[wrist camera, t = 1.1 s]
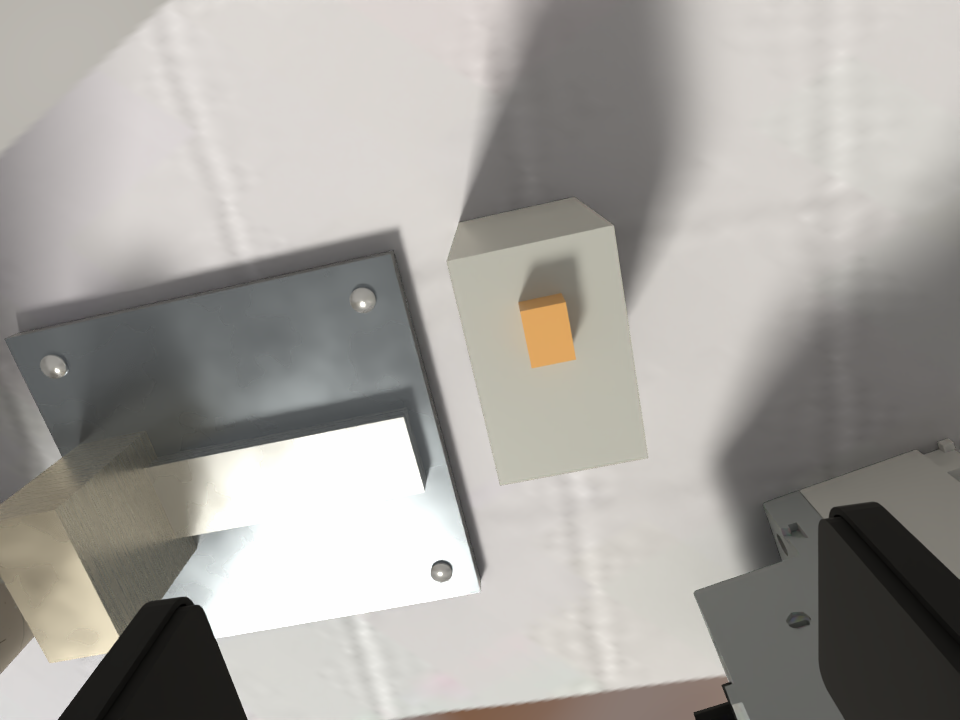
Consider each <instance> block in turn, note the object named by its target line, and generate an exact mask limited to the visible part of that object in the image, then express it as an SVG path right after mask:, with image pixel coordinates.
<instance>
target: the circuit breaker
mask: <svg viewBox="0 0 960 720" xmlns="http://www.w3.org/2000/svg"><path fill="white" fill-rule="evenodd" d="M938 447H939V449H938V450H936V451H933V452H930V453H927V454H924V455H923V454H922V453H921V452H919V451H918V450H913V451H910V452H907V453H904V454H902V455H899V456H896V457H893V458H890V459H887V460H884V461H882V462H879V463H876V464H873V465H870V466H867V467H864V468H862V469H859V470H856V471H853V472H850V473H847V474H844V475H842V476H839V477H836V478H833V479H830V480H827V481H824V482H821V483H819V484H816V485H813V486H810V487H807V488H804V489H801V490H799V491H796V492H793V493H790V494H787V495H784V496H782V497H779V498H776V499H773V500H770V501H767V502H765V503H764V504H763V506H764V509H765V512H766V515H767V518H768V521H769V524H770V527H771V530H772V533H773V536H774V539H775V542H776V545H777V548H778V551H779V554H780V557H781V560H782V561H781V562H778V563H776V564H773V565H770V566H767V567H764V568H761V569H758V570H755V571H752V572H749V573H746V574H743V575H740V576H737V577H734V578H731V579H728V580H725V581H722V582H720V583H717V584H714V585H711V586H708V587H705V588H702V589H699V590H696V591H695V592H694V596H695V598H696V601H697V603H698V606H699V608H700V611H701V613H702V616H703V618H704V621H705V623H706V626H707V628H708V631H709V633H710V636H711V638H712V641H713V643H714V646H715V648H716V651H717V653H718V656H719V658H720V661H721V663H722V666H723V668H724V671H725V673H726V676H727V678H728V681H729V682H728V683H726V684H723V685H722V687H723V690H724V693H725V695H726V698H727V700H728V702H726V703H723V704H720V705H717V706H713V707H710V708H707V709H704V710H700V711H697V712H694V716H695V719H696V720H845V719H844V718H843V716H842V714H841V713H840V711H839V709H838V708H837V706H836V704H835V703H834V701H833V699H832V698H831V696H830V694H829V693H828V691H827V689H826V687H825V685H824V682H823V680H822V677H821V673H820V669H819V661H818V524H819V522H820V520H821V519H825V518H829V513H830V510H831V509H832V508H833V507H836V506H843V505H850V504H858V503H865V502H872V501H873V502H878V503H879V504H881V505H882V506H883V507H884V508H885V509H886V510H887V511H888V512H890V513H891V514H892V515H893V516H894V517H895V518H896V519H897V520H898V521H899V522H900V523H901V524H902V525H903V526H904V527H905V528H906V529H907V530H908V531H909V532H910V533H912V534H913V535H914V536H915V537H916V538H917V539H918V540H919V541H920V542H921V543H922V544H923V545H924V546H925V547H926V548H927V549H928V550H929V551H930V552H931V553H932V554H934V555H935V556H936V557H937V558H938V559H939V560H940V561H941V562H942V563H943V564H944V565H945V566H946V567H947V568H948V569H949V570H950V571H951V572H952V573H953V574H954V575H956V576H957V577H958V578H959V579H960V453H959V452H958V451H956V450H955V446H954V442H952V441H951V440H949V439H948V438H947V439H945V440H942V441H939V442H938Z"/></svg>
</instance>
